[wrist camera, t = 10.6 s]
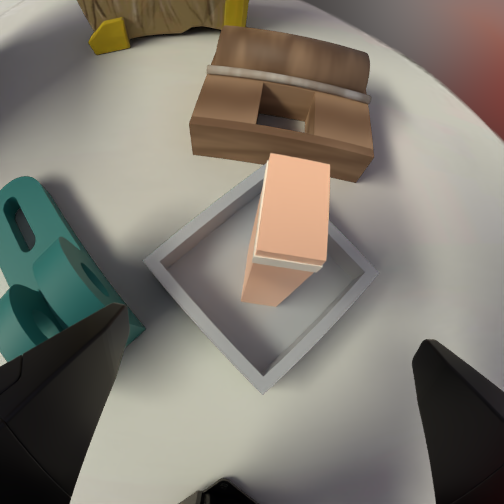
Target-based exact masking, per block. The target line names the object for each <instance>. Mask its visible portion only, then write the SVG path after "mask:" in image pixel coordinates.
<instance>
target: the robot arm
mask: <svg viewBox="0 0 504 504" xmlns="http://www.w3.org/2000/svg"><path fill="white" fill-rule="evenodd" d="M129 331H130V326H129V317H128V308H127V306H126V305H125V304H120V303H111V304H109V305H107V306H106V307H104V308H102V309H100V310H98V311H97V312H95V313H93V314H91V315H89V316H88V317H86V318H84V319H82V320H81V321H79V322H77V323H75V324H74V325H72V326H70V327H68V328H67V329H65V330H63V331H61V332H59V333H58V334H56V335H54V336H53V337H51V338H49V339H47V340H46V341H44V342H42V343H40V344H39V345H37V346H35V347H33V348H32V349H30V350H28V351H27V352H25V353H23V355H20V356H18V357H16V358H14V359H13V360H11V361H9V362H7V363H6V364H4V365H2V366H0V504H70V500H71V497H72V494H73V491H74V488H75V485H76V482H77V479H78V476H79V473H80V470H81V467H82V464H83V461H84V458H85V456H86V453H87V450H88V447H89V445H90V442H91V439H92V437H93V434H94V431H95V429H96V426H97V424H98V421H99V418H100V416H101V413H102V411H103V408H104V406H105V403H106V401H107V398H108V396H109V394H110V391H111V389H112V386H113V384H114V381H115V379H116V376H117V373H118V369H119V366H120V362H121V359H122V356H123V352H124V349H125V346H126V342H127V339H128V336H129ZM412 368H413V374H414V380H415V387H416V393H417V400H418V406H419V411H420V415H421V420H422V424H423V429H424V433H425V438H426V443H427V449H428V454H429V460H430V465H431V471H432V478H433V484H434V492H435V499H436V504H504V392H503V391H502V390H501V389H499V388H498V387H497V386H496V385H494V384H493V383H492V382H490V381H489V380H488V379H487V378H485V377H484V376H483V375H481V374H480V373H479V372H478V371H476V370H475V369H474V368H472V367H471V366H470V365H468V364H467V363H466V362H465V361H463V360H462V359H461V358H459V357H458V356H457V355H455V354H454V353H453V352H451V351H450V350H449V349H447V348H446V347H445V346H443V345H442V344H441V343H439V342H438V341H437V340H433V339H426V340H424V341H423V342H422V343H421V345H420V347H419V349H418V350H417V352H416V354H415V355H414V357H413V360H412ZM223 483H225V484H227V486H226V487H222V486H221V484H223ZM179 504H258V503H257V502H256V501H254V500H253V499H252V498H250V497H249V496H248V495H247V494H245V493H244V492H243V491H242V490H240V489H239V488H238V487H237V486H235V485H234V484H233V483H232V482H231V481H229V480H228V479H224V478H223V479H220V480H218V481H217V482H215V483H214V484H213V485H211V486H210V487H209V488H207V489H206V490H204V491H203V492H202V491H196V492H195V493H194V494H192V495H191V496H189V497H188V498H186V499H185V500H183V501H182V502H180V503H179Z"/></svg>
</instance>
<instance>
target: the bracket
mask: <svg viewBox="0 0 504 504" xmlns="http://www.w3.org/2000/svg"><path fill="white" fill-rule="evenodd" d="M20 208H21V209H22V211H23V213H24V215H25V217H26V219H27V221H28V223H29V225H30V227H31V229H32V231H33V233H34V235H35V238H36V241H35V245H34V247H33V248H32V250H31V251H30V250H29V248H28V246H27V244H26V242H25V240H24V238H23V236H22V234H21V232H20V230H19V228H18V226H17V224H16V221H15V215H16V212H17V211H18V210H19V209H20ZM0 268H1V270H2V272H3V274H4V276H5V279H6V281H7V283H8V285H9V287H10V288H9V290H8V291H7V292H6V293H5V294H4V295H3V296H2V298H1V299H0V352H1V354H2V355H3V357H4V358H5V359H6V361H7V362H9V361H11V360H13V359H14V358H16V357H18V356H20V355H23V353H25V352H27V351H28V350H30V349H32V348H33V347H35V346H37V345H39V344H40V343H42V342H44V341H46V340H47V339H49V338H51V337H53V336H54V335H56V334H58V333H59V332H61V331H63V330H65V329H67V328H68V327H70V326H72V325H74V324H75V323H77V322H79V321H81V320H82V319H84V318H86V317H88V316H89V315H91V314H93V313H95V312H97V311H98V310H100V309H102V308H104V307H106V306H107V305H109V304H111V303H120V304H125V303H124V301H123V300H122V299H121V297H120V296H119V295H118V294H117V292H116V291H115V290H114V288H113V287H112V286H111V284H110V283H109V282H108V280H107V279H106V278H105V276H104V275H103V274H102V272H101V271H100V270H99V268H98V267H97V265H96V264H95V263H94V261H93V260H92V258H91V257H90V256H89V254H88V253H87V251H86V250H85V248H84V247H83V245H82V244H81V242H80V241H79V239H78V238H77V236H76V235H75V233H74V232H73V230H72V229H71V227H70V226H69V224H68V223H67V221H66V220H65V218H64V216H63V215H62V213H61V212H60V210H59V208H58V207H57V205H56V203H55V202H54V200H53V198H52V197H51V195H50V194H49V193H48V192H47V191H46V190H45V188H44V187H43V186H42V185H41V184H40V183H39V182H38V181H37V180H36V179H34V178H32V177H28V176H24V177H19V178H16V179H14V180H12V181H11V182H9V183H8V184H7V185H5V186H4V187H3V188H2V189H1V190H0ZM125 305H126V304H125ZM126 306H127V305H126ZM127 308H128V306H127ZM128 317H129V326H130V331H129V336H128V339H127V342H126V346H125V348H126V347H127V346H128V345H129V344H130V343H131V342H132V341H133V340H134V339H135V338H137V337H138V336H139V335H140V334H141V333H142V332H143V331H144V330H145V329H146V328H145V327H144V326H143V325H142V324H141V322H140V321H139V320H138V319H137V318H136V316H135V315H134V314H133V313H132V311H131V310H130V309H129V308H128Z"/></svg>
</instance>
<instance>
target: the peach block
mask: <svg viewBox="0 0 504 504" xmlns="http://www.w3.org/2000/svg"><path fill="white" fill-rule="evenodd" d="M329 194H330V164H325V163H321V162H316V161H311V160H306V159H301V158H296V157H290V156H285V155H279V154H274V153H270V157H269V160H267V164H266V169H265V174H264V181H263V187H262V191H261V196H260V200H259V204H258V209H257V213H256V217H255V222H254V226H253V230H252V235H251V239H250V243H249V249H248V255H247V262H246V269H245V275H244V282H243V289H242V296H241V302H246V303H253V304H259V305H266V306H273V307H276V306H278V305H279V304H280V303H281V302H282V301H283V300H284V299H285V298H286V297H288V296H289V295H290V294H291V293H292V292H293V291H294V290H295V289H296V288H298V287H299V286H300V285H301V284H302V283H303V282H304V281H305V280H306V279H307V278H309V277H310V276H311V275H312V274H313V273H314V272H315V273H317V272H318V271H319V270H320V269H321V268H322V267H323V264H324V263H325V262H326V259H327V242H328V222H329Z"/></svg>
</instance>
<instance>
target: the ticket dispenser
mask: <svg viewBox="0 0 504 504" xmlns="http://www.w3.org/2000/svg"><path fill="white" fill-rule="evenodd" d="M369 71H370V60H369V56H368V54H367V53H365V52H362V51H359V50H355V49H352V48H348V47H345V46H341V45H337V44H333V43H329V42H325V41H321V40H317V39H312V38H308V37H303V36H298V35H293V34H288V33H282V32H276V31H270V30H263V29H256V28H247V27H239V26H228V25H224V26H223V28H222V30H221V33H220V36H219V40H218V45H217V50H216V53H215V56H214V58H213V61H212V63H211V65H208V66H207V76H206V79H205V81H204V84H203V86H202V89H201V92H200V95H199V97H198V100H197V103H196V106H195V108H194V111H193V114H192V117H191V120H190V123H189V127H190V135H191V143H192V151H193V155H201V156H208V157H216V158H223V159H230V160H237V161H244V162H250V163H257V164H263V165H264V164H266V163H267V160H269V157H270V153H274V154H279V155H285V156H290V157H296V158H301V159H306V160H311V161H316V162H321V163H325V164H330V177H331V178H336V179H341V180H345V181H350V182H354V183H356V182H357V180H358V179H359V178H360V176H361V175H362V173H363V172H364V171H365V169H366V168H367V167H368V165H369V164H370V162H371V161H372V160H373V158H374V152H373V142H372V132H371V124H370V115H369V108H368V104H369V103H370V101H371V96H370V95H367V94H366V86H367V82H368V78H369ZM259 113H261V114H267V115H273V116H278V117H284V118H289V119H294V120H300V121H304V122H305V133H302V132H297V131H292V130H287V129H281V128H276V127H270V126H264V125H258V124H257V119H258V114H259Z"/></svg>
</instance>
